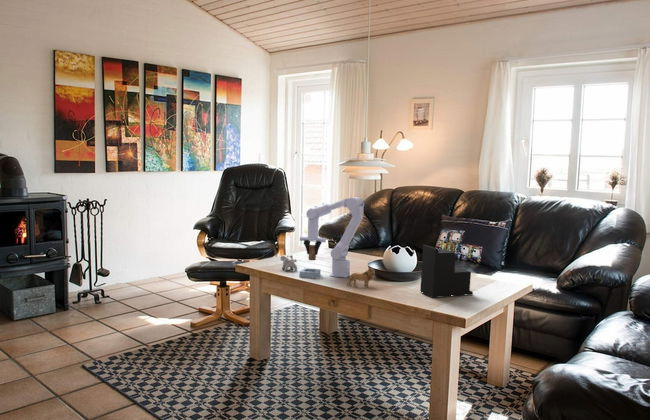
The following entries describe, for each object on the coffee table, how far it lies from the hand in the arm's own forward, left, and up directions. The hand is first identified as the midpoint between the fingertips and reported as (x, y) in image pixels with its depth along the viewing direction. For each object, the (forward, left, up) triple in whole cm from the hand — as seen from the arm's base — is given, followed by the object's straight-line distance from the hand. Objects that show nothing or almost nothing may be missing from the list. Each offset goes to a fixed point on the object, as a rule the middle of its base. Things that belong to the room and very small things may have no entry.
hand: (312, 254), depth 293 cm
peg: (0, 0, -3) cm, 3 cm away
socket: (-2, +10, -10) cm, 14 cm away
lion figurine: (-32, +21, -10) cm, 40 cm away
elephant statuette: (+15, -1, -10) cm, 18 cm away
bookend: (-74, +21, -10) cm, 77 cm away
